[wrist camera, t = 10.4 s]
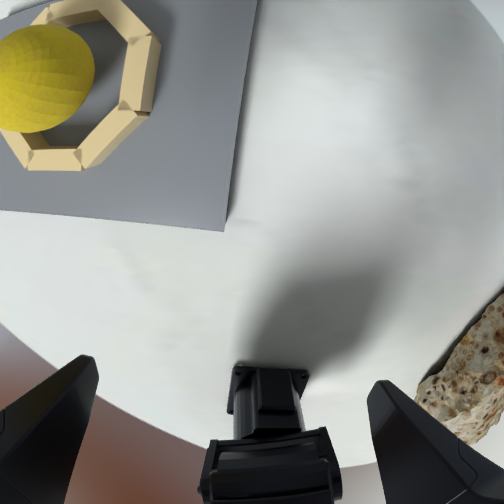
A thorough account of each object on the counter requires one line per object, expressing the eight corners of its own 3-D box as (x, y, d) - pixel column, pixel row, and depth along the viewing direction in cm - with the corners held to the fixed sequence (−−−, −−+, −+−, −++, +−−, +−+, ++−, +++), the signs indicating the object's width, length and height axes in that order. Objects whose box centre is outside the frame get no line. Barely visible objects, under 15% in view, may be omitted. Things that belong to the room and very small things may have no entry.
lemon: (31, 86, 13) (-59, 87, 6) (90, 24, 12) (10, -13, 5) (67, 145, 15) (-25, 171, 8) (134, 83, 14) (54, 62, 6)
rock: (506, 250, 22) (577, 299, 13) (517, 296, 29) (564, 334, 20) (383, 408, 26) (433, 477, 17) (426, 410, 33) (463, 457, 24)
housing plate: (225, 223, 19) (222, 245, 16) (-11, 202, 17) (-38, 216, 14) (258, -6, 13) (262, -30, 10) (3, 25, 11) (-24, 19, 8)
